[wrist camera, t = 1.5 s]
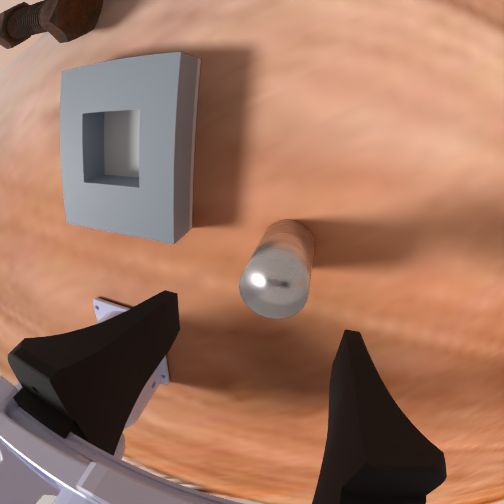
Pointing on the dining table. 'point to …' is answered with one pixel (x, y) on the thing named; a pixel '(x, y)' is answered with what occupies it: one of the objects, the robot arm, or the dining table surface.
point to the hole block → (130, 145)
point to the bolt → (48, 20)
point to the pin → (279, 271)
